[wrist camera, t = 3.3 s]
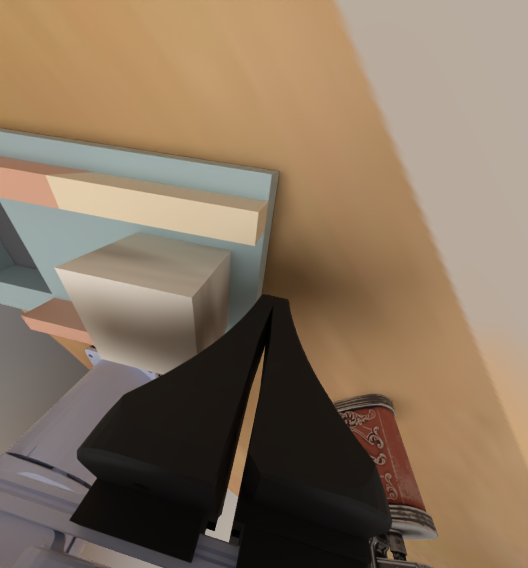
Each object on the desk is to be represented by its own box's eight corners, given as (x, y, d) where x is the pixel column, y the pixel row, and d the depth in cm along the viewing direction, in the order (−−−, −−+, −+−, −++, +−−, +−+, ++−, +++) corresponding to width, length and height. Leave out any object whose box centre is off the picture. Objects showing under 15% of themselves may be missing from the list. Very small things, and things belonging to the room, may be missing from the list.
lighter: (325, 426, 22) (336, 593, 13) (304, 411, 21) (303, 579, 12) (399, 408, 18) (482, 629, 9) (377, 388, 17) (447, 612, 9)
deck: (255, 337, 16) (239, 391, 13) (21, 283, 18) (-53, 316, 14) (279, 171, 10) (262, 178, 6) (-89, 114, 12) (-276, 92, 8)
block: (228, 324, 12) (200, 384, 9) (154, 307, 13) (101, 358, 10) (231, 250, 10) (191, 297, 6) (137, 232, 10) (54, 267, 7)
